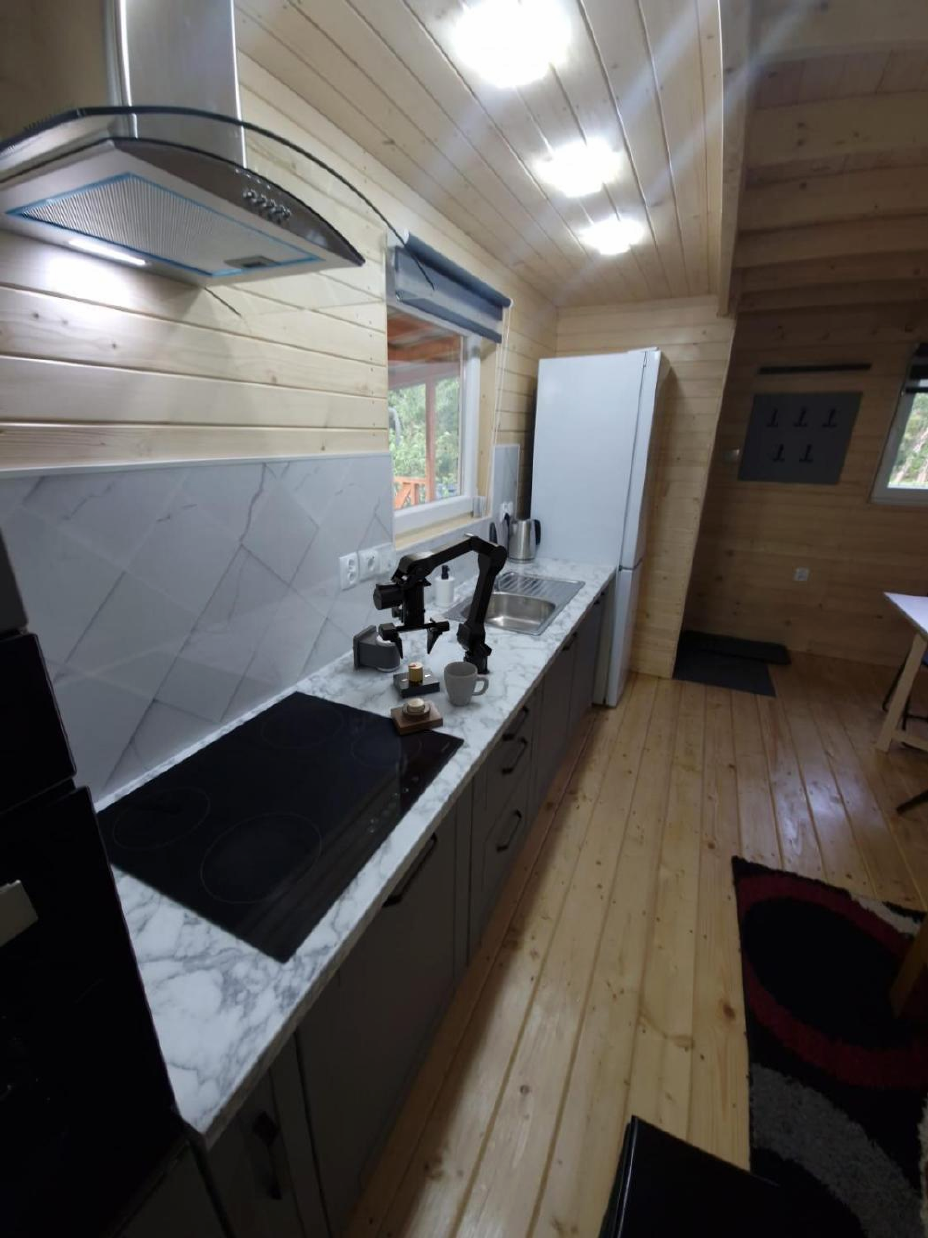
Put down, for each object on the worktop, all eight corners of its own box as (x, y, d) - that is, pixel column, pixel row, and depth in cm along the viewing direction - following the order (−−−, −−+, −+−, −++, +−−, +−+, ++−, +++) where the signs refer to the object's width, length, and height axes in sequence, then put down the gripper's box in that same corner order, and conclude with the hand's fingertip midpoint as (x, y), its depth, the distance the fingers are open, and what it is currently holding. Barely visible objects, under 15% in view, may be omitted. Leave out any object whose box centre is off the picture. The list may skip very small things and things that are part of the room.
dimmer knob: (420, 673, 142) (420, 660, 140) (424, 680, 139) (424, 666, 137) (407, 676, 141) (406, 662, 139) (411, 682, 137) (410, 668, 136)
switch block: (431, 707, 131) (431, 694, 130) (443, 725, 124) (443, 711, 122) (390, 716, 127) (390, 702, 126) (400, 735, 120) (399, 721, 118)
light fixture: (388, 679, 146) (388, 646, 142) (351, 668, 151) (350, 636, 147) (407, 663, 156) (407, 632, 151) (371, 653, 160) (370, 623, 156)
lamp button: (421, 703, 126) (421, 697, 126) (426, 711, 123) (426, 705, 122) (406, 706, 125) (406, 700, 124) (410, 714, 122) (410, 708, 121)
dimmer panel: (429, 676, 147) (429, 667, 145) (439, 691, 139) (439, 681, 138) (393, 683, 143) (392, 674, 141) (401, 699, 135) (401, 688, 134)
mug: (441, 707, 131) (441, 675, 127) (447, 690, 139) (446, 660, 136) (486, 711, 130) (487, 678, 126) (489, 694, 138) (490, 663, 134)
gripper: (436, 590, 141) (436, 639, 147) (371, 598, 135) (375, 649, 141) (450, 602, 132) (450, 655, 138) (381, 611, 125) (385, 666, 131)
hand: (415, 656), depth 137 cm, fingers open, 7 cm apart
